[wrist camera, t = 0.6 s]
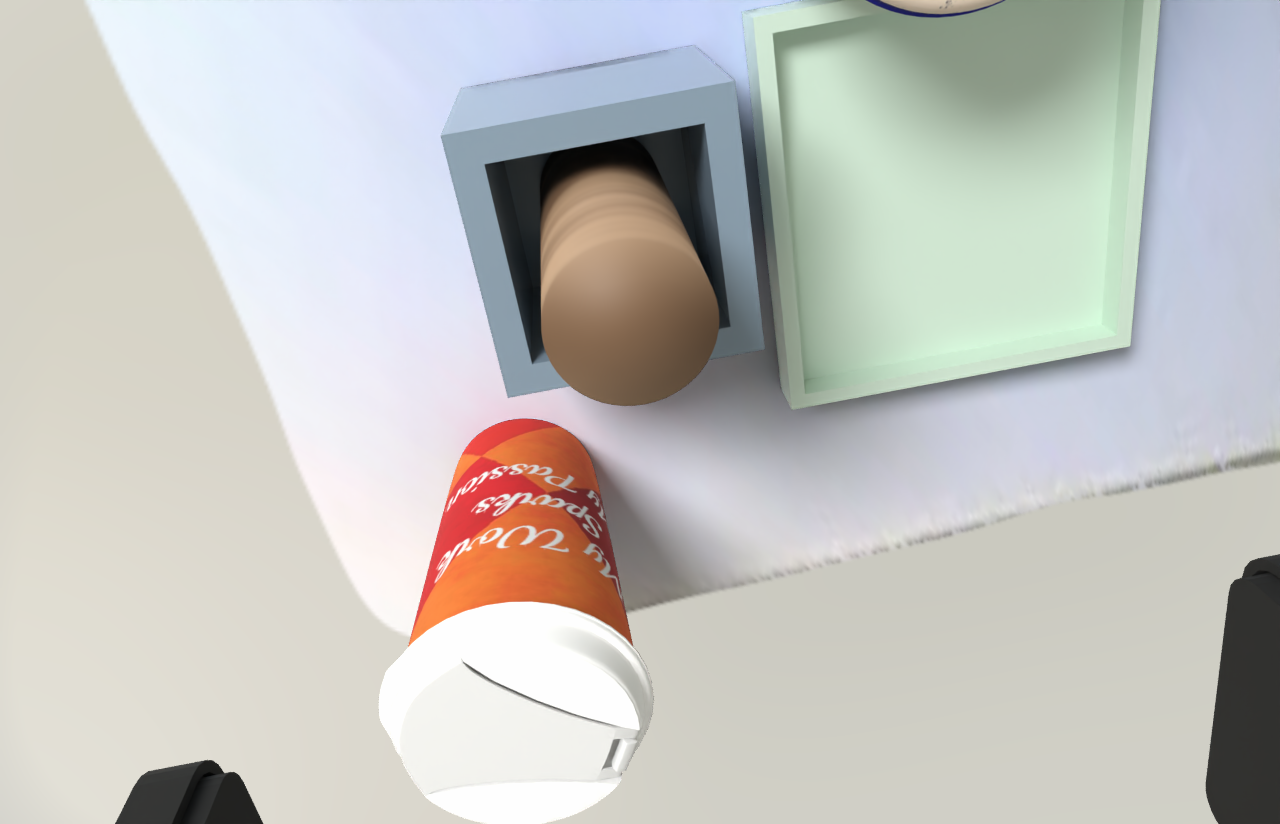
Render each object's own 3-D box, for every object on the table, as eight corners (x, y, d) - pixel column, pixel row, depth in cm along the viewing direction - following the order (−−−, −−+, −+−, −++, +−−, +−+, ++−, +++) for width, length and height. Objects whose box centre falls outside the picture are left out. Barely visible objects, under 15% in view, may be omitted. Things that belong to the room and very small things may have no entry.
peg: (528, 140, 34) (523, 258, 23) (650, 117, 34) (707, 224, 23) (553, 257, 36) (560, 420, 25) (668, 236, 36) (729, 388, 25)
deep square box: (460, 88, 34) (440, 135, 27) (694, 44, 34) (735, 80, 27) (513, 306, 38) (507, 397, 31) (722, 267, 38) (764, 349, 31)
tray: (741, 11, 34) (753, 17, 32) (1133, -61, 34) (1165, -60, 32) (780, 388, 41) (791, 410, 39) (1104, 327, 41) (1130, 346, 39)
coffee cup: (643, 416, 41) (694, 660, 28) (592, 570, 44) (615, 853, 31) (446, 372, 39) (400, 611, 26) (408, 536, 43) (350, 820, 29)
